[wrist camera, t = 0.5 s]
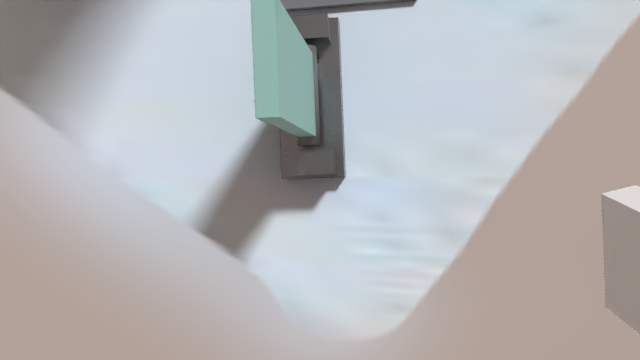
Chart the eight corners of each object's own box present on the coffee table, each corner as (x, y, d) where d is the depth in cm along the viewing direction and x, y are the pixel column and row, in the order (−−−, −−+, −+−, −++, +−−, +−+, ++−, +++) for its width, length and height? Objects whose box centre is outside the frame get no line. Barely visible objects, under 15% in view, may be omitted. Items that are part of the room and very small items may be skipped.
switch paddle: (295, 51, 32) (244, -19, 21) (317, 49, 32) (279, -22, 20) (299, 146, 32) (251, 130, 21) (322, 145, 32) (285, 128, 20)
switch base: (278, 27, 34) (269, 14, 31) (339, 22, 33) (335, 9, 31) (285, 179, 34) (276, 179, 31) (345, 176, 33) (342, 176, 31)
